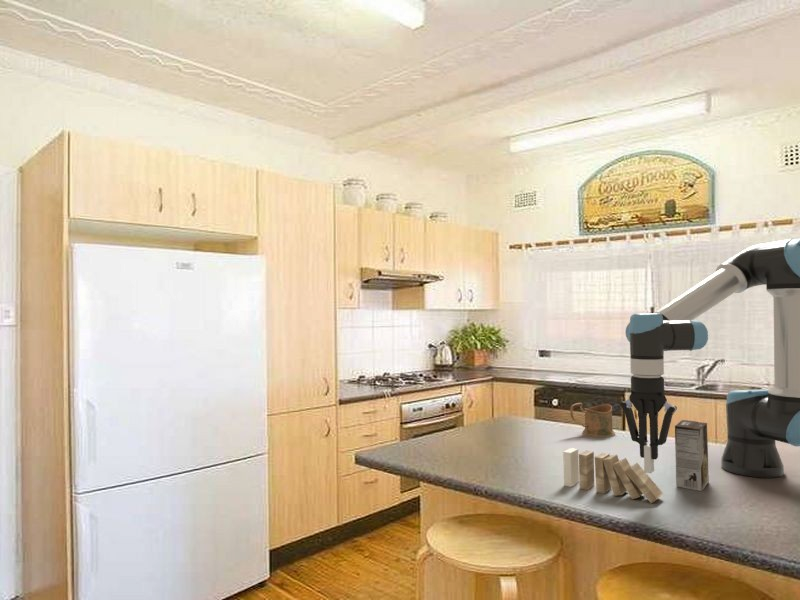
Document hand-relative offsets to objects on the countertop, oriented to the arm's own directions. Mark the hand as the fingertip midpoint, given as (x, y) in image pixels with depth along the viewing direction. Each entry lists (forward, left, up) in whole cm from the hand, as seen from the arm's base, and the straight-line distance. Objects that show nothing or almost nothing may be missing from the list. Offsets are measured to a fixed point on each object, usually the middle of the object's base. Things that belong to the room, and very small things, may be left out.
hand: (649, 471), depth 135 cm
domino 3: (+11, 0, -7) cm, 13 cm away
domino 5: (+3, 0, -6) cm, 7 cm away
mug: (+38, -59, -7) cm, 71 cm away
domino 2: (+16, 0, -7) cm, 17 cm away
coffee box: (-5, -19, -7) cm, 21 cm away
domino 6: (-2, 0, -6) cm, 7 cm away
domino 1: (+20, 0, -7) cm, 21 cm away
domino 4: (+7, 0, -7) cm, 10 cm away
